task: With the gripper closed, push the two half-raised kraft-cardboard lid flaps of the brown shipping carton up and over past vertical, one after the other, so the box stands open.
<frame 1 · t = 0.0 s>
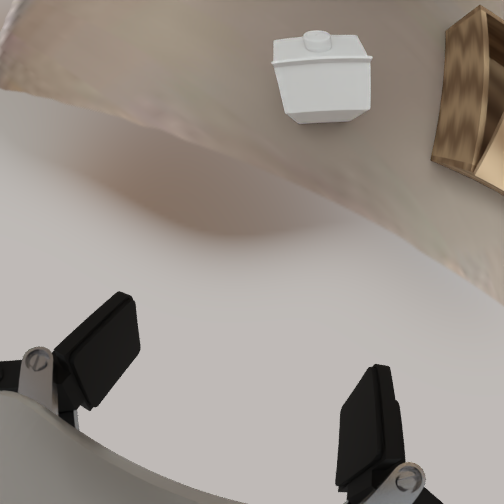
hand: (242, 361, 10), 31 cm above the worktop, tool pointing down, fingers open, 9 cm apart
milk carton: (321, 97, 32), on the worktop
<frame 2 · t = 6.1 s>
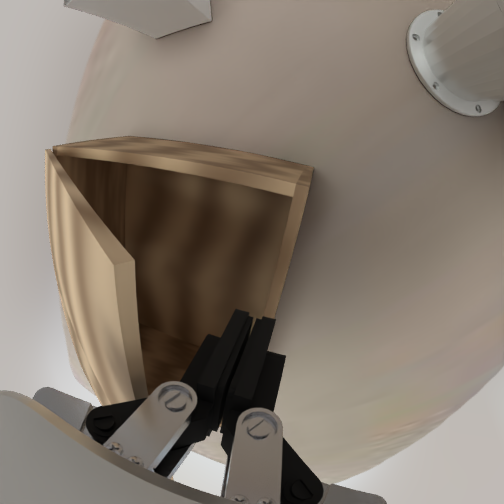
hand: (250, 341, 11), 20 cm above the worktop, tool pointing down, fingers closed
carton: (195, 261, 34), on the worktop
milk carton: (182, 8, 21), on the worktop
flap a: (68, 277, 15), point 18 cm above the worktop, hinge at 31.0°, touching gripper
flap b: (105, 398, 21), point 18 cm above the worktop, hinge at 30.0°
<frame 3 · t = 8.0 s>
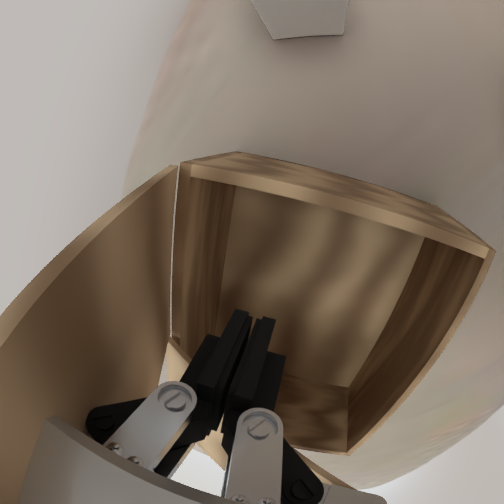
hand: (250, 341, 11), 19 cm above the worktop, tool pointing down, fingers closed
carton: (308, 295, 31), on the worktop
milk carton: (302, 11, 19), on the worktop
flap a: (118, 391, 9), point 23 cm above the worktop, hinge at 73.1°, touching gripper
flap b: (247, 460, 19), point 18 cm above the worktop, hinge at 30.0°
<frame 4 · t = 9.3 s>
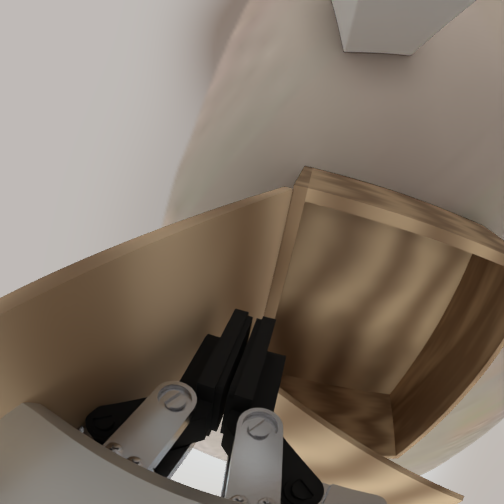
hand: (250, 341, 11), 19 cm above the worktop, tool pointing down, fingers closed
carton: (365, 309, 30), on the worktop
milk carton: (371, 25, 18), on the worktop
flap a: (145, 408, 9), point 23 cm above the worktop, hinge at 103.6°, touching gripper
flap b: (325, 476, 17), point 18 cm above the worktop, hinge at 30.0°
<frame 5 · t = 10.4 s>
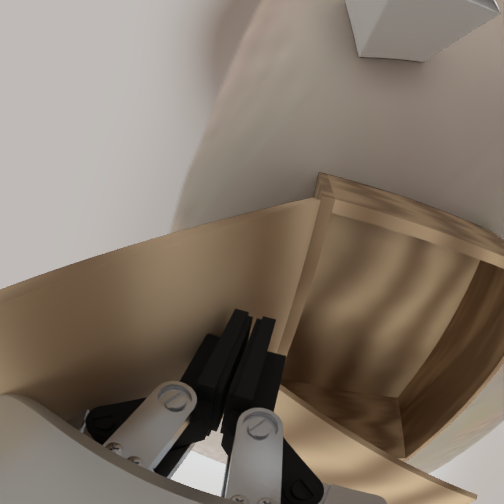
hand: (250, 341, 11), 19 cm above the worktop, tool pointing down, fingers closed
carton: (376, 315, 30), on the worktop
milk carton: (384, 30, 18), on the worktop
flap a: (148, 408, 9), point 22 cm above the worktop, hinge at 112.7°, touching gripper
flap b: (342, 481, 17), point 18 cm above the worktop, hinge at 30.0°
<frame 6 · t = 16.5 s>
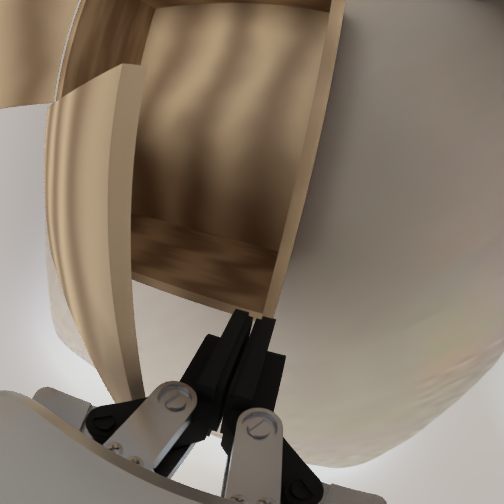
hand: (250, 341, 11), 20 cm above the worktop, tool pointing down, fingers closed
carton: (214, 111, 26), on the worktop
flap b: (59, 219, 13), point 18 cm above the worktop, hinge at 31.1°, touching gripper
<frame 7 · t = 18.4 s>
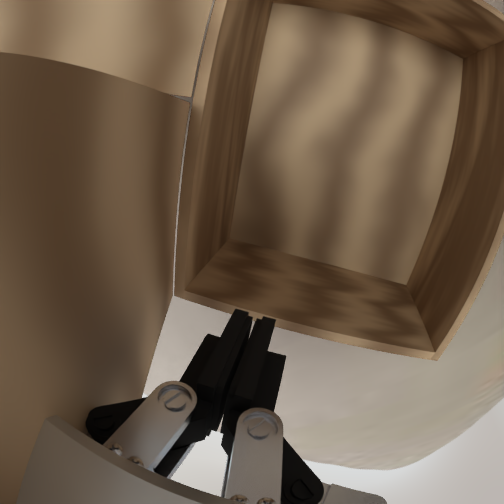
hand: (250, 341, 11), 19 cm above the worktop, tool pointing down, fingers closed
carton: (353, 137, 24), on the worktop
flap b: (101, 318, 7), point 23 cm above the worktop, hinge at 74.0°, touching gripper
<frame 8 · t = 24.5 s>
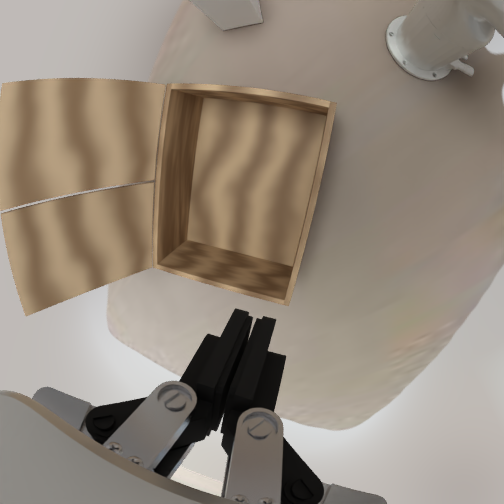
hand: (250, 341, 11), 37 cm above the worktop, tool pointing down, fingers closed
carton: (250, 180, 46), on the worktop
milk carton: (240, 12, 34), on the worktop
flap a: (83, 134, 25), point 22 cm above the worktop, hinge at 112.8°
flap b: (85, 245, 31), point 22 cm above the worktop, hinge at 112.5°
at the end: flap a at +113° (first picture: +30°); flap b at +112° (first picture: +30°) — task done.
